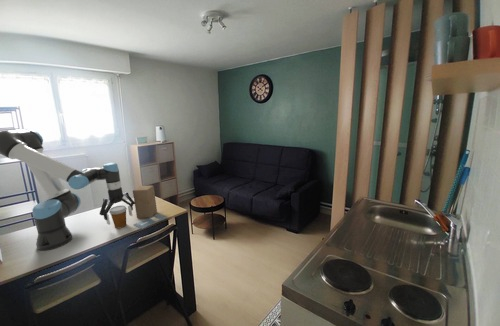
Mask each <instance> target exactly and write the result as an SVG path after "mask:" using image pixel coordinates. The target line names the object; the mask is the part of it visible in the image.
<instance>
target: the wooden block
mask: <svg viewBox="0 0 500 326" xmlns="http://www.w3.org/2000/svg"><path fill="white" fill-rule="evenodd" d="M155 193H156V192H155V186H154V185H140V186H138V187H136V188H134V189H133V190H132V195H133V201H134V202H135V204H134V209H135V215H136V218H137V219H142V218H143V219H145V218H146V219H148V218H150V217H153V216H155V215H156V213H157V212H158V209H157V202H156V194H155Z"/></svg>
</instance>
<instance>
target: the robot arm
mask: <svg viewBox="0 0 500 326" xmlns="http://www.w3.org/2000/svg"><path fill="white" fill-rule="evenodd" d="M43 142H44V139H43V136H42V135H41V134H40V133H39V132H37V131H35V130H34V129H29V128H27V129H26V128H21V129H12V130H7V129H6V130H1V131H0V155H2V156H4V157H6V158H8V159H10V160H18V161H20V162H22V163H25V164H26V166H27V167H28V168H29V170H30V171H31V173H32V174H33V176H34V178H35V179H36V180H37V182H38V184H39V185H40V187H41V188H42V190H43V191H44V192H45V194H46V195H47V197H46V199H45V200H44V201H41V202H39V203H37V204H36V205H34V206H33V208H32V216H33V219H34V223H35V227H36V231H37V238H36V243H35V246H36V249H37V250H38V251H48V250H54V249H57V248H59V247H62V246H64V245H66V244H67V243H69V242H71V240H72V239H73V234H72V232H71V230H69V228H68V227H67V226H66V219H65V218H67V217H68V216H70V215H71V214H72V213H75V212H76V211H77V210H78V209H79V207H80V206H81V204H82V203H81V198H80V196H79V195H78V194H76V193H75V192H72V191H71V190H70V189H68V188H65V186H64V184H63V183H62V181H65V182H67V183H68V187H70V188H71V189H73V190H82V189H84V188H86V187H87V186H89V185H90V184H92V183H95V182H96V181H102V180H103V181H105V184H106V189H107V193H108V197H107V198H105V197H104V198H102V201H103V202H102V204H101V208H100V210H99V214H98V215H100V216H103V219H104V220H105V221H106V224H107V225H109V226H110V225H111V221H110V216H109V215H110V214H108V213H109V211H110V209H111V208H113V206H114V204H116V203H120V202H123V203H125V204H126V205H127V210H128V214H129V216H130V217H134V216H133V210H134V208H133V206H134V205H135V202H134V199H133V198H131V196H130V195H129V192H127V191H124V192H123V188H122V182H121V177H120V176H121V175H120V169H119V166H118V163H116V162H109V163H105V164H104V163H103V166H102V167H88V168H82V170H77V169H76V168H73V167H71V166H69V165H68V164H65V163H63V162H61V161H59V160H57V159H54V158H52V157H50V156H48V155H46V154H44V153H43V151H44V149H45V148H44V147H43ZM61 180H62V181H61ZM124 197H125V198H127V200H126V199H125V198H124Z"/></svg>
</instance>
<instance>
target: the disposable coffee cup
mask: <svg viewBox="0 0 500 326" xmlns="http://www.w3.org/2000/svg"><path fill="white" fill-rule="evenodd" d="M127 210H128V207H127V206H126V205H123V204H122V205H117V206H112V207H111V208H110V210H109V212H108V213H109V215H110V216H111V219H112V222H113V225H114V227H115V228H116V229H121V228H124V227H126V226H127Z"/></svg>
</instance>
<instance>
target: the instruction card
mask: <svg viewBox="0 0 500 326" xmlns="http://www.w3.org/2000/svg"><path fill="white" fill-rule="evenodd" d="M165 219H168V217H166V216H164V215H162V214H160V213H158V214H154V215H153V216H152V217H150V218H146V219H145V218H144V220H141V221H139V222H136V223H133V226H134V227H136V228H139V229H140V230H143V229H145V228H147V227H149V226H152V225H154V224H155V225H156V224H157V223H159V222H162V221H163V220H165Z"/></svg>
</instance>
